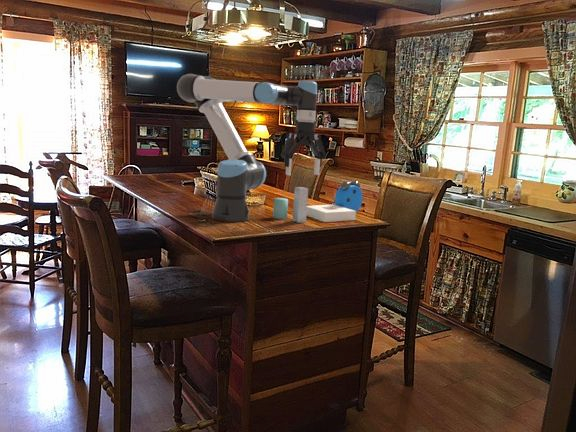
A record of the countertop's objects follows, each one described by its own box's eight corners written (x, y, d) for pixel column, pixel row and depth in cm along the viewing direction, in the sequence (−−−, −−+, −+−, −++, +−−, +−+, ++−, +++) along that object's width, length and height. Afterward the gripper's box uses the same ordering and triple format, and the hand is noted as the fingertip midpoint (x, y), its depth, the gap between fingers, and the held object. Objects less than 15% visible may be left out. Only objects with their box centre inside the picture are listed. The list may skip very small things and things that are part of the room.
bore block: (324, 222, 205) (325, 212, 205) (304, 214, 219) (304, 205, 218) (355, 220, 213) (356, 210, 213) (333, 213, 227) (334, 204, 226)
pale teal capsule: (277, 219, 205) (278, 200, 204) (270, 216, 210) (271, 198, 209) (289, 218, 208) (290, 200, 207) (282, 216, 213) (283, 197, 212)
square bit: (297, 222, 201) (299, 188, 198) (292, 220, 204) (294, 187, 202) (305, 222, 203) (308, 188, 200) (300, 220, 206) (302, 187, 204)
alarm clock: (352, 211, 235) (354, 179, 232) (362, 213, 230) (365, 181, 228) (333, 213, 226) (335, 180, 224) (343, 215, 222) (345, 182, 219)
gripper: (283, 120, 186) (280, 176, 190) (336, 123, 199) (333, 175, 203) (273, 119, 193) (271, 174, 197) (326, 122, 205) (322, 173, 209)
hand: (302, 175), depth 200 cm, fingers open, 13 cm apart
